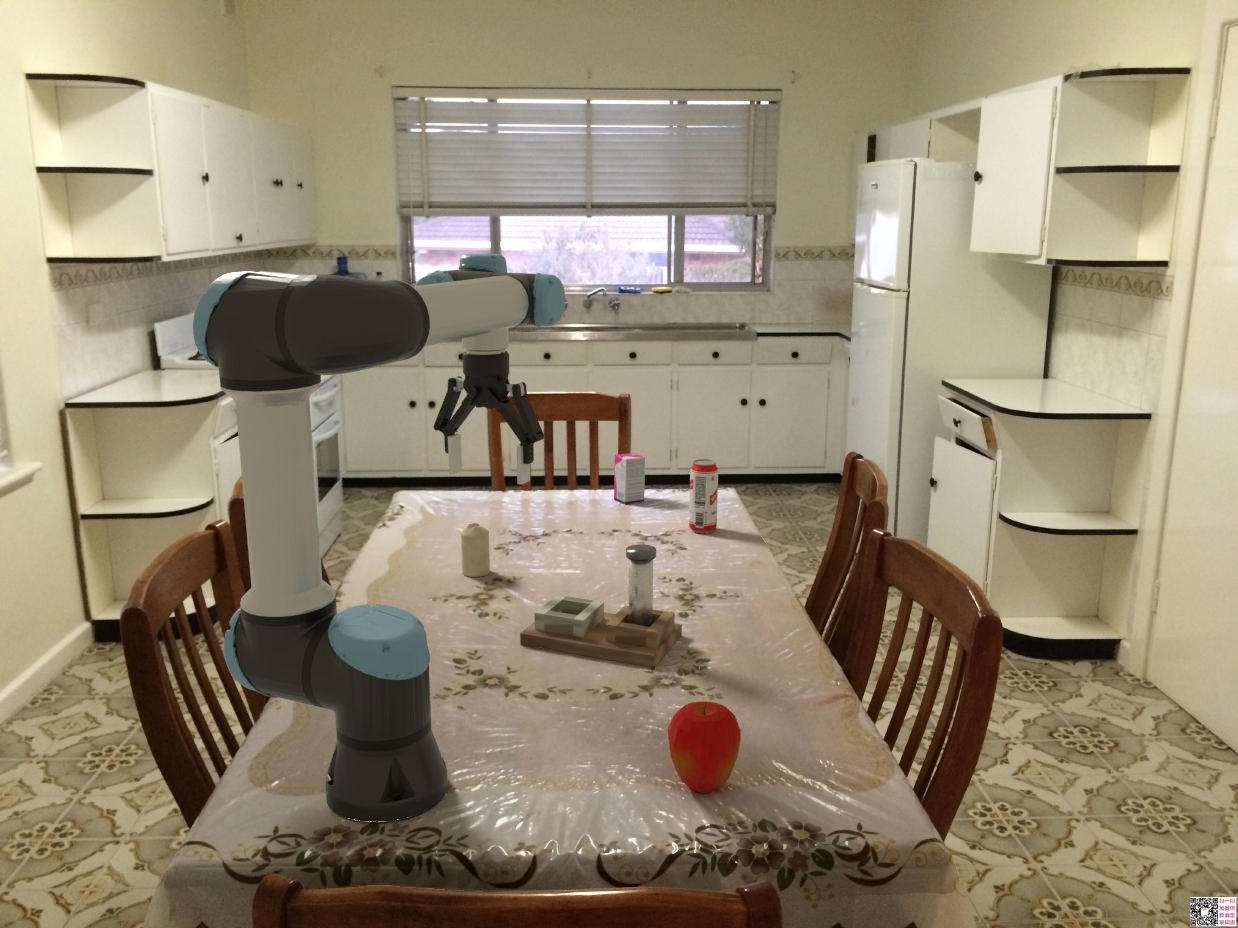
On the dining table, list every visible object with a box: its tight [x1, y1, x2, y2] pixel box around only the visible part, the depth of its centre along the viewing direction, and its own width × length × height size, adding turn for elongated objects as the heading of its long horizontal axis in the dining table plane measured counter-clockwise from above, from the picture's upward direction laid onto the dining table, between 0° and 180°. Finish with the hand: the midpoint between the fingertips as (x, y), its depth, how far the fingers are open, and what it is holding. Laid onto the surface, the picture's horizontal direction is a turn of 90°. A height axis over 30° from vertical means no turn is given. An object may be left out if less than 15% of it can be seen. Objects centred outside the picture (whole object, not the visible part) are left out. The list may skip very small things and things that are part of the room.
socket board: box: [519, 594, 683, 668], centre depth 181 cm, size 14×24×5 cm, turn 68°
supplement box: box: [613, 452, 646, 505], centre depth 263 cm, size 6×6×12 cm
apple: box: [666, 700, 742, 794], centre depth 135 cm, size 9×9×12 cm
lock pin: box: [625, 543, 657, 627], centre depth 176 cm, size 5×5×15 cm
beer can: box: [688, 458, 719, 534], centre depth 239 cm, size 6×6×16 cm
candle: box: [460, 522, 491, 578], centre depth 212 cm, size 6×6×10 cm
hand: (489, 477), depth 177 cm, fingers open, 13 cm apart
